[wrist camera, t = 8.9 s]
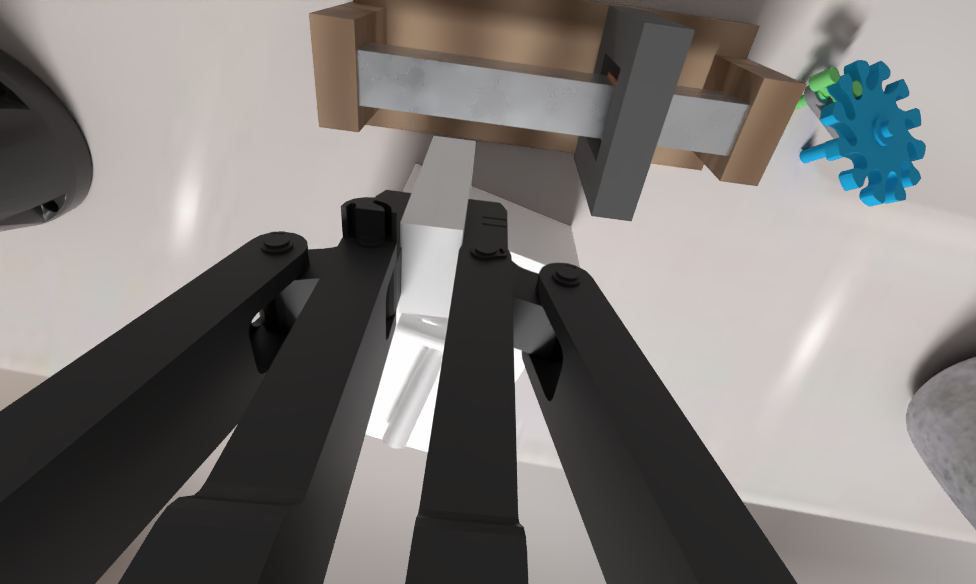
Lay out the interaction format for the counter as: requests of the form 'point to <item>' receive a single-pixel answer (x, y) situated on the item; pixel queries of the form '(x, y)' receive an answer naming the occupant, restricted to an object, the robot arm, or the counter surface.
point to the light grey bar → (532, 96)
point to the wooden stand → (549, 43)
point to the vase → (948, 432)
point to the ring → (631, 107)
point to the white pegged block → (421, 338)
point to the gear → (866, 130)
